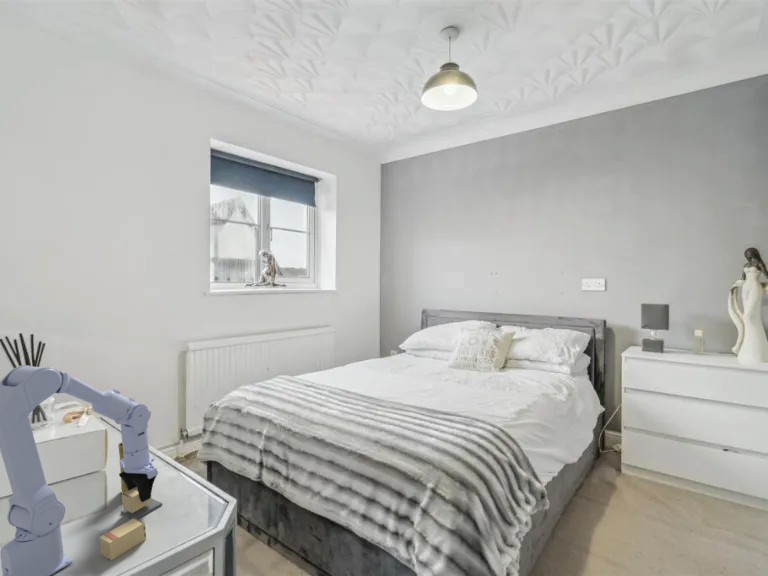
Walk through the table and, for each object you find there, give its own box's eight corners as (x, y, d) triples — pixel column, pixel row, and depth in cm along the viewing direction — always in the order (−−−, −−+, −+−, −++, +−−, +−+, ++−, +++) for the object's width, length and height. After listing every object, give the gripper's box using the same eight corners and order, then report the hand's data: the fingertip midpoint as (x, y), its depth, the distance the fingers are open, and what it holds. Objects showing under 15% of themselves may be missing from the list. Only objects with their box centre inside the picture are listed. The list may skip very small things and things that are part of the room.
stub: (132, 513, 100) (130, 497, 100) (123, 508, 102) (121, 493, 102) (151, 502, 104) (150, 487, 104) (142, 498, 107) (141, 483, 106)
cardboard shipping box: (111, 560, 86) (109, 542, 85) (101, 554, 88) (99, 536, 88) (146, 539, 92) (144, 522, 92) (136, 533, 94) (134, 517, 94)
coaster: (135, 520, 100) (135, 518, 99) (120, 513, 103) (120, 511, 103) (162, 505, 106) (162, 503, 106) (147, 498, 109) (147, 496, 109)
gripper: (166, 446, 103) (171, 496, 104) (136, 437, 111) (141, 483, 111) (138, 458, 97) (143, 511, 98) (109, 448, 104) (114, 497, 105)
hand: (140, 497), depth 104 cm, fingers closed on stub, 4 cm apart
